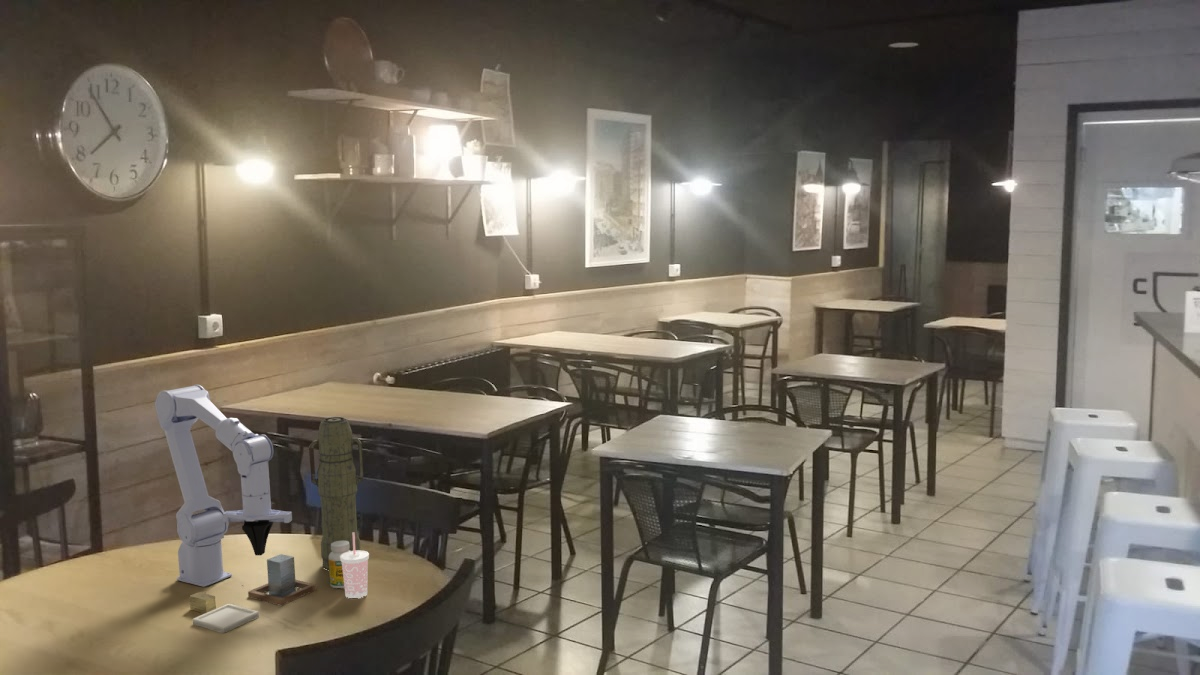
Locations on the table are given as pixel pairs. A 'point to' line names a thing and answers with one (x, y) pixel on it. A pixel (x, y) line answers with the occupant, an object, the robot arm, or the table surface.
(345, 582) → the beverage cup
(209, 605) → the bar
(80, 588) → the table surface
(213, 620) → the tray
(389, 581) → the table surface
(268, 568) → the brushed metal block
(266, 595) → the socket
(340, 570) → the supplement bottle
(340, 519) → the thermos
